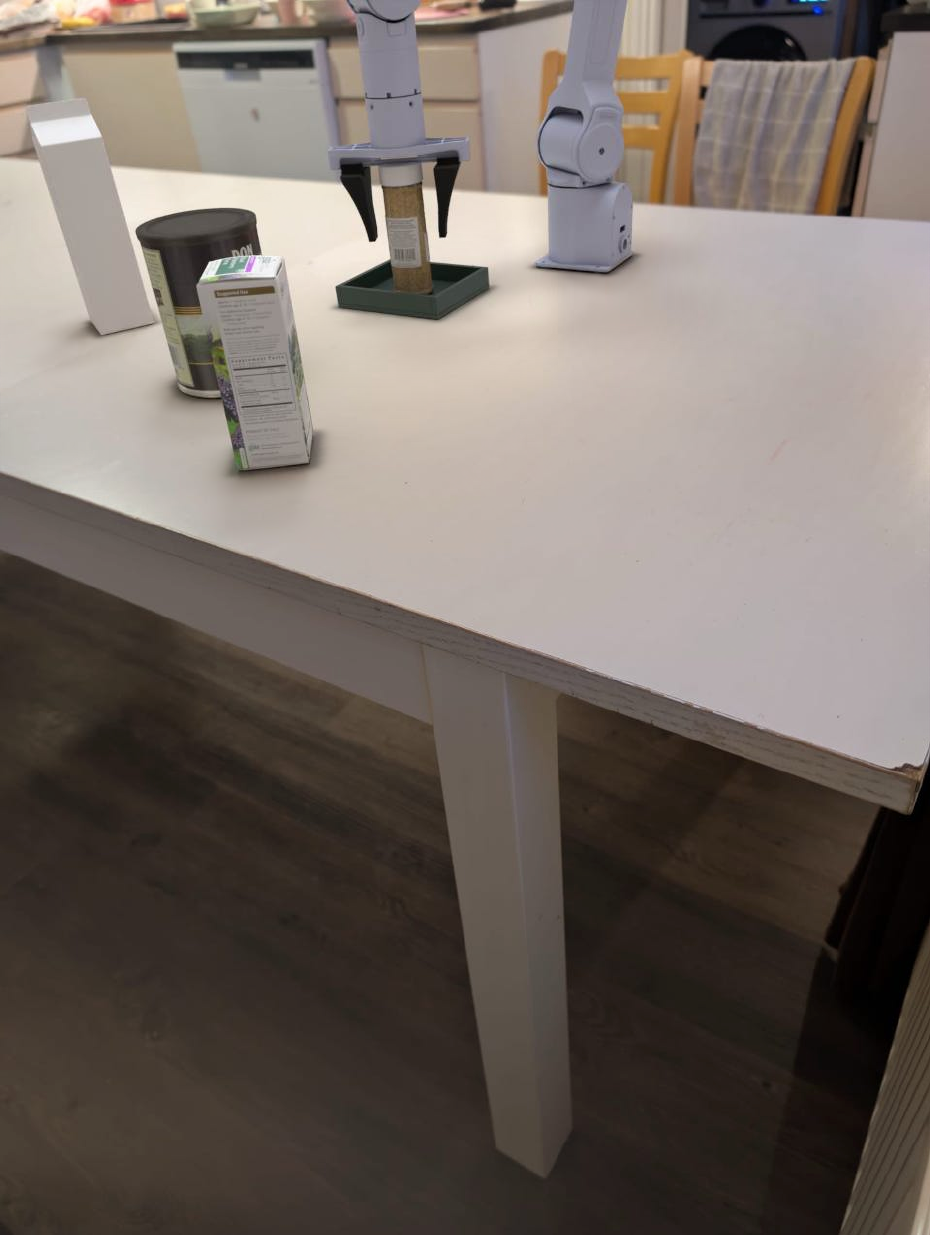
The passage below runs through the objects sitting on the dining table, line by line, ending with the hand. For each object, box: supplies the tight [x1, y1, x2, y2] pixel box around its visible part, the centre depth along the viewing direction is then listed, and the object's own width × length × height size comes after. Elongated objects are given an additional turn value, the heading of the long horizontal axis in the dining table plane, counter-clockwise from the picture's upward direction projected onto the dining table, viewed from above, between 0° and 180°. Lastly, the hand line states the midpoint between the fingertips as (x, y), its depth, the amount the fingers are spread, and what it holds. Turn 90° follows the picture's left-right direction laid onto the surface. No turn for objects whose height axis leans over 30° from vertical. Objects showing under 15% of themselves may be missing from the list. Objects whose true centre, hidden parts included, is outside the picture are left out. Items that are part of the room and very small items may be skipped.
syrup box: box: [196, 254, 314, 471], centre depth 68 cm, size 6×6×14 cm
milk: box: [25, 97, 155, 336], centre depth 96 cm, size 6×6×22 cm
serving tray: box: [334, 258, 490, 320], centre depth 102 cm, size 13×11×2 cm
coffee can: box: [134, 207, 263, 399], centre depth 83 cm, size 10×10×14 cm
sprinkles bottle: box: [377, 161, 433, 295], centre depth 98 cm, size 5×5×13 cm
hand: (408, 237), depth 98 cm, fingers open, 7 cm apart
